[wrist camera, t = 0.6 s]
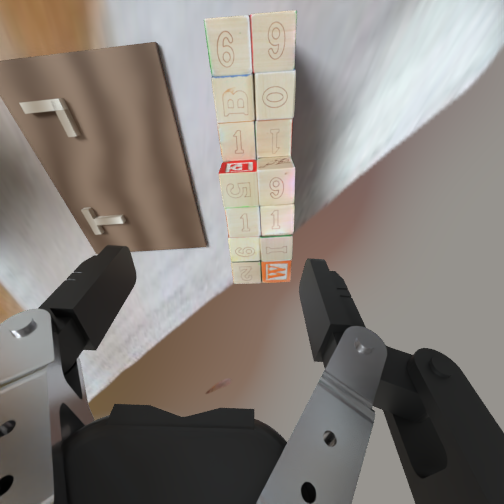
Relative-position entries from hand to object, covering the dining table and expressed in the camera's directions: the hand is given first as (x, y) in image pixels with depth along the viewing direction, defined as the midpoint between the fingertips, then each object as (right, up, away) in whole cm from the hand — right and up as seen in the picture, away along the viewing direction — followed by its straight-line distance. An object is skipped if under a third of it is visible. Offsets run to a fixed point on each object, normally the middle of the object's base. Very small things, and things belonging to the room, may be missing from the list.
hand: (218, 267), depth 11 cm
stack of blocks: (+2, +13, +18) cm, 22 cm away
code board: (-16, +11, +19) cm, 27 cm away
